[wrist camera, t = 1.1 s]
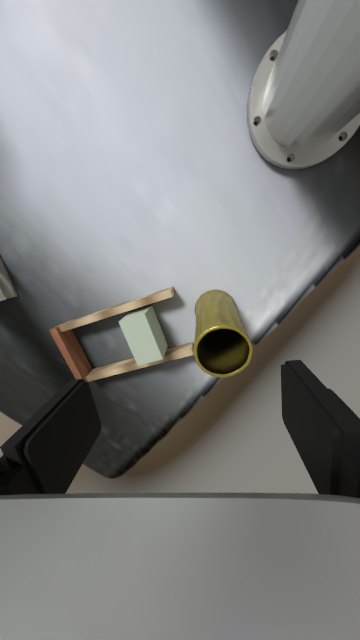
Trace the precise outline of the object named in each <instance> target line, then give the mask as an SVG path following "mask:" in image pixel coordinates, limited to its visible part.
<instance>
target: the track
mask: <svg viewBox="0 0 360 640" xmlns="http://www.w3.org/2000/svg"><path fill="white" fill-rule="evenodd" d="M174 294H175V291H174V288H173V287H171V288H168V289H165V290H162V291H159V292H156V293H153V294H150V295H147V296H144V297H141V298H138V299H135V300H132V301H129V302H126V303H123V304H120V305H117V306H113V307H110V308H107V309H104V310H101V311H98V312H95V313H92V314H89V315H86V316H83V317H80V318H77V319H74V320H71V321H68V322H65V323H62V324H60V325H58V326H56V327H54V328H52V329H50V330H49V331H50V333H51V335H52V337H53V338H54V340H55V342H56V344H57V346H58V348H59V349H60V351H61V353H62V355H63V357H64V359H65V360H66V362H67V364H68V366H69V368H70V370H71V371H72V373H73V375H74V377H75V379H84V380H85V381H86V382H89V381H93V380H97V379H101V378H105V377H109V376H113V375H117V374H121V373H124V372H128V371H132V370H136V369H140V368H144V367H148V366H152V365H156V364H160V363H164V362H168V361H172V360H176V359H180V358H184V357H188V356H191V355H194V346H193V343H188V344H185V345H181V346H177V347H173V348H170V349H167V350H166V352H165V355H164V358H163V359H162V360H158V361H154V362H151V363H147V364H143V365H139V366H138V365H137V363H136V360H135V358H132V359H128V360H125V361H121V362H117V363H113V364H109V365H106V366H102V367H98V368H94V369H92V367H91V365H90V364H89V362H88V360H87V358H86V356H85V354H84V352H83V350H82V348H81V346H80V344H79V342H78V340H77V338H76V336H75V334H74V332H73V330H72V329H73V328H76V327H79V326H82V325H86V324H89V323H92V322H95V321H98V320H101V319H104V318H108V317H111V316H114V315H117V314H120V313H123V312H126V311H130V310H133V309H136V308H139V307H142V306H145V305H148V304H152V303H155V302H158V301H161V300H164V299H167V298H170V297H173V296H174Z"/></svg>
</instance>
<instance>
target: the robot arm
mask: <svg viewBox="0 0 360 640" xmlns="http://www.w3.org/2000/svg"><path fill="white" fill-rule="evenodd" d="M271 60H273V61H271ZM247 122H248V128H249V133H250V136H251V139H252V141H253V144H254V145H255V147H256V149H257V150H258V152H259V153H260V154H261V155H262V156H263V157H264V158H265V159H266V160H267V161H269V162H270V163H272V164H273V165H275V166H278V167H281V168H284V169H292V170H294V169H304V168H308V167H311V166H314V165H316V164H318V163H320V162H322V161H324V160H326V159H327V158H329V157H330V156H332V155H333V154H335V153H336V152H337V151H338V150H339V149H340V148H342V147H343V146H344V145H345V144H346V143H347V142H348V140H349V139H350V138H351V137H352V136H353V135H354V133H355V132H356V130H357V129H358V127H359V126H360V0H298V3H297V6H296V8H295V11H294V13H293V16H292V19H291V21H290V24H289V27H288V29H287V30H286V31H285V32H284V33H283V34H282V35H281V36H280V37H279V38H278V39H277V40H276V41H275V42H274V43H273V45H272V46H271V47H270V48H269V50H268V51H267V52H266V54H265V56H264V57H263V59H262V61H261V63H260V64H259V66H258V69H257V71H256V74H255V76H254V79H253V82H252V85H251V89H250V92H249V98H248V104H247ZM254 123H256V124H257V125H258V126H255V125H254ZM338 138H339V139H340V141H339V139H338ZM287 159H289V160H290V162H287ZM281 389H282V417H283V421H284V424H285V426H286V428H287V430H288V432H289V434H290V436H291V438H292V440H293V442H294V444H295V446H296V448H297V450H298V452H299V455H300V457H301V459H302V460H303V463H304V465H305V467H306V469H307V471H308V473H309V474H310V477H311V479H312V481H313V483H314V485H315V487H316V489H317V491H318V493H319V494H301V493H299V494H298V493H82V494H81V493H78V494H65V493H66V491H67V489H68V488H69V486H70V484H71V483H72V480H73V479H74V477H75V475H76V474H77V472H78V470H79V468H80V467H81V465H82V463H83V461H84V460H85V458H86V456H87V454H88V453H89V451H90V449H91V447H92V446H93V444H94V442H95V440H96V439H97V437H98V435H99V433H100V431H101V422H100V419H99V416H98V413H97V410H96V407H95V403H94V400H93V397H92V394H91V391H90V388H89V384H88V383H87V382H86V381H85V380H84V379H74V380H70V381H69V382H68V383H67V384H66V385H65V386H64V387H63V388H61V389H60V390H59V391H58V392H57V393H56V394H55V395H54V396H53V397H52V398H51V399H50V400H49V401H48V402H47V403H46V404H45V405H44V406H43V407H42V408H41V409H40V410H38V411H37V412H36V413H35V414H34V415H33V416H32V417H31V418H30V419H29V420H28V421H27V422H26V423H25V424H24V425H23V426H22V427H21V428H20V429H19V430H18V431H17V432H15V433H14V434H13V435H12V436H11V437H10V438H9V439H8V440H7V441H6V442H5V443H4V444H3V445H2V446H1V447H0V448H1V450H2V452H3V454H4V455H3V456H2V457H1V458H0V640H360V419H359V418H358V417H357V415H356V414H354V412H353V411H352V410H351V409H350V408H349V407H348V406H347V405H346V404H345V403H344V402H343V401H342V400H341V399H340V398H339V397H338V396H337V395H336V394H335V393H334V392H333V391H332V390H331V389H327V388H326V387H325V386H324V385H323V384H322V383H321V382H320V380H319V379H318V378H317V377H316V376H315V375H314V374H313V373H312V372H311V371H310V370H309V369H308V368H307V367H306V365H305V364H304V363H303V362H302V361H301V360H292V361H286V362H285V364H284V365H281Z"/></svg>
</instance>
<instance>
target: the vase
mask: <svg viewBox="0 0 360 640" xmlns="http://www.w3.org/2000/svg"><path fill="white" fill-rule="evenodd" d="M195 315H196V331H195V341H194V357H195V360H196V362H197V364H198V366H199V367H200V368H201V369H202V370H203V371H204V372H206V373H208V374H210V375H212V376H216V377H229V376H233V375H235V374H237V373H239V372H241V371H242V370H244V369H245V368H246V367H247V366H248V364H249V363H250V361H251V357H252V353H253V347H252V343H251V341H250V339H249V337H248V335H247V334H246V331H245V329H244V327H243V325H242V322H241V320H240V318H239V315H238V312H237V309H236V305H235V303H234V301H233V299H232V297H231V296H230V295H229V294H227V293H226V292H224V291H221V290H211V291H208V292H206V293H204V294H203V295H201V296H200V298H199V299H198V300H197V302H196V305H195Z"/></svg>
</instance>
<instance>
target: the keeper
mask: <svg viewBox="0 0 360 640" xmlns="http://www.w3.org/2000/svg"><path fill="white" fill-rule="evenodd" d="M119 324H120V326H121V329H122V331H123V333H124V335H125V338H126V340H127V342H128V344H129V347H130V349H131V351H132V354H133V356H134V358H135V360H136V363H137V365H138V366H139V365H143V364H147V363H151V362H154V361H158V360H162V359H163V358H164V355H165V352H166V350H167V347H168V345H167V342H166V340H165V337H164V334H163V332H162V329H161V327H160V324H159V321H158V319H157V316H156V314H155V311H154V309H153V306H148V307H145V308H142V309H139V310H136V311H133V312H129V313H128V314H127V315H126V316H125V317H123V318H122V319H121V320H120V321H119Z"/></svg>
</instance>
